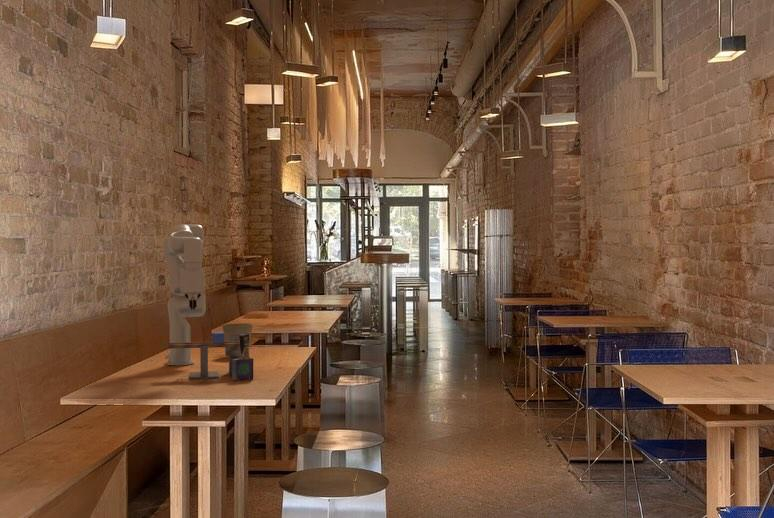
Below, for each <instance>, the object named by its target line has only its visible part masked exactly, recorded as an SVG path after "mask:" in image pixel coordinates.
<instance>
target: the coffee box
mask: <svg viewBox="0 0 774 518" xmlns="http://www.w3.org/2000/svg"><path fill="white" fill-rule="evenodd" d="M236 341H239V343H240V355H242V354H243V356H244V357H247V358H248V357H250V342H249V334H234V335H230V336H229V342H236ZM240 357H241V356H236V359H241V358H240Z"/></svg>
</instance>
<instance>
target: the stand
mask: <svg viewBox="0 0 774 518" xmlns="http://www.w3.org/2000/svg"><path fill="white" fill-rule="evenodd" d="M199 349H200V351H199V353H200V355H199V356H200V358H199V360H200V367H199V369H200V371H194V372H193V371H192V372H189V380H190V381H194V380H219V379H220V374H219V371H218V370H217V371H209V349H208V346H200V348H199ZM233 359H236V356H228V376H229V377H232V360H233Z"/></svg>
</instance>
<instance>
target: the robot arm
mask: <svg viewBox="0 0 774 518" xmlns="http://www.w3.org/2000/svg"><path fill="white" fill-rule="evenodd" d="M204 240H205V230H204V228H203V226H202V225H200V224H191V223H190V224H189V223H186V224H185V223H183V224H177V225H176V226H174V227H173V229H172V231H171V234H170V235H169V236H168V237H167V238H165V239H164V240H163V242H162V249H163V250H162V251H163V255H164V258H165V261H166V263H167V266H168V279H169V290H170V292H171V294H173V295H179V296H174V297H172V298H170V299H169V300H168V301H167V312H168V319H169V320H168V321H169V343H192V342H191V325H190V323H189V322H188V321H187V319H186V318H192V317H203V316H204V315H205V314H206V310H207V309H206V308H207V307H206V303H207V302H206V293H207V292H206V278H205V271H204V269H202V268H203V265H202V264H203V262H202V261H203V260H202V257H203V256H202V255H203V253H202V252H203V250H204V242H205V241H204ZM181 256H183V258H182V257H181ZM192 295H193V296H192ZM191 349H192V348H173V349H169V353H168V354H167V355H165V357H164V358H165V359H166V360H167V359H168V360H167V361H166V365H168V366H175V367H178V366H189V365H190V366H191V365H193V364H195V360H193V359H192V358H191V355H192V353H191V352H192V351H191Z"/></svg>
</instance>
